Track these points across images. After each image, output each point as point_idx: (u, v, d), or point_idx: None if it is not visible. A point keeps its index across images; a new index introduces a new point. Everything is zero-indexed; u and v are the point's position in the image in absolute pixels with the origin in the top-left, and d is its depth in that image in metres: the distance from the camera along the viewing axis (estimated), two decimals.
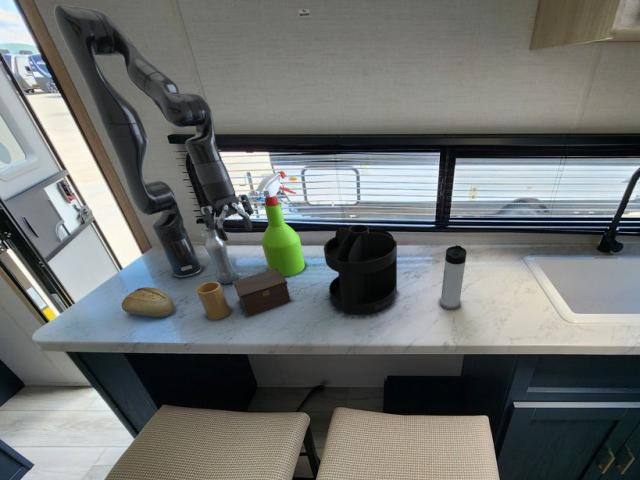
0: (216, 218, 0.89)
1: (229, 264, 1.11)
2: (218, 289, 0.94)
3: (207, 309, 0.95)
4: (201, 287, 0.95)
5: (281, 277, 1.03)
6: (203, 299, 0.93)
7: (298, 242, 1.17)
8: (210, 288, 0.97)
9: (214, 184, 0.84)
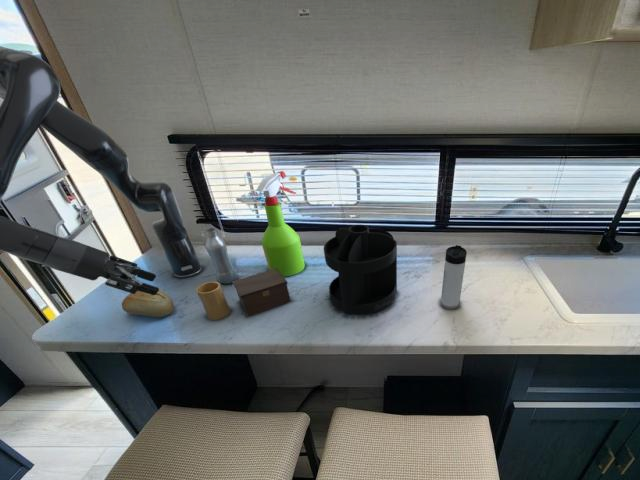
0: None
1: (229, 264, 1.11)
2: (218, 289, 0.94)
3: (207, 309, 0.95)
4: (201, 287, 0.95)
5: (281, 277, 1.03)
6: (203, 299, 0.93)
7: (298, 242, 1.17)
8: (210, 288, 0.97)
9: None
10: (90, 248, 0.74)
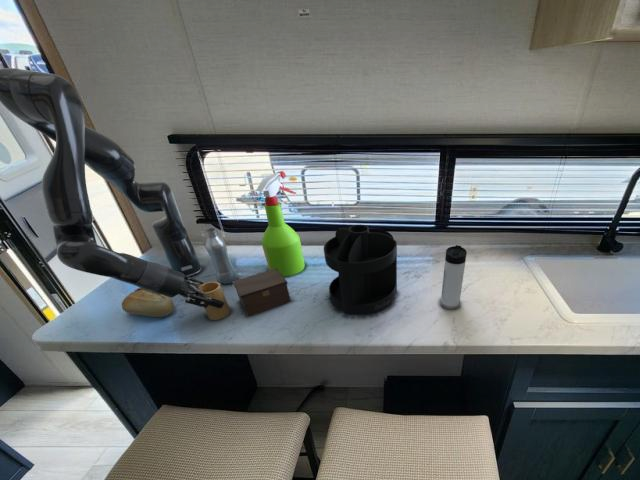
0: None
1: (229, 264, 1.11)
2: (218, 289, 0.94)
3: (207, 309, 0.95)
4: (201, 287, 0.95)
5: (281, 277, 1.03)
6: None
7: (298, 242, 1.17)
8: (210, 288, 0.97)
9: None
10: (170, 270, 0.86)
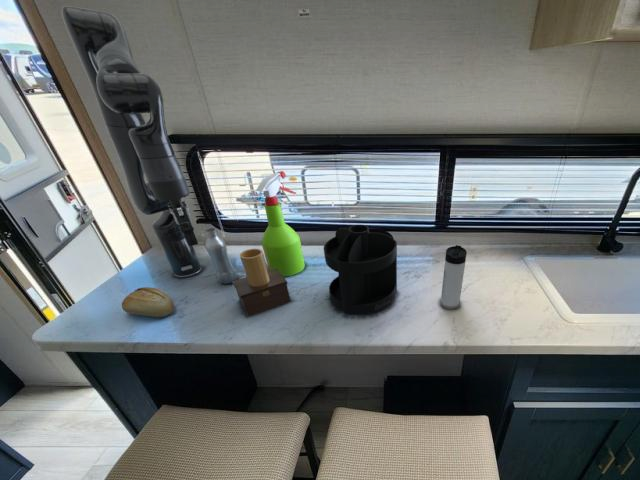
0: None
1: (229, 264, 1.11)
2: (261, 255, 0.95)
3: (249, 275, 0.96)
4: (244, 253, 0.96)
5: (281, 277, 1.03)
6: (246, 265, 0.94)
7: (298, 242, 1.17)
8: (251, 255, 0.98)
9: None
10: None
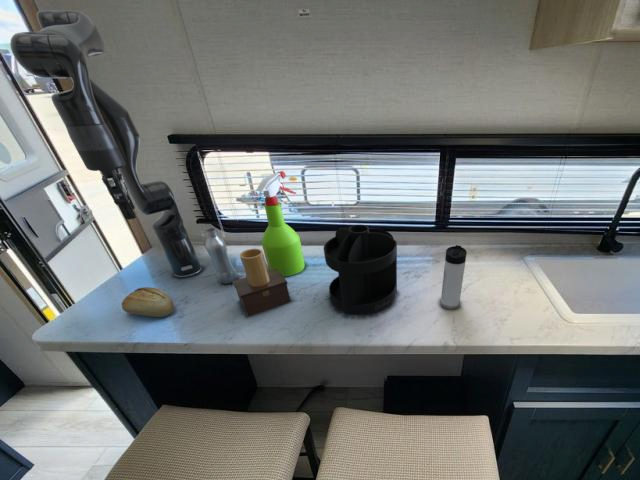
0: None
1: (229, 264, 1.11)
2: (261, 255, 0.95)
3: (249, 275, 0.96)
4: (244, 253, 0.96)
5: (281, 277, 1.03)
6: (246, 265, 0.94)
7: (298, 242, 1.17)
8: (251, 255, 0.98)
9: None
10: (118, 149, 0.75)
